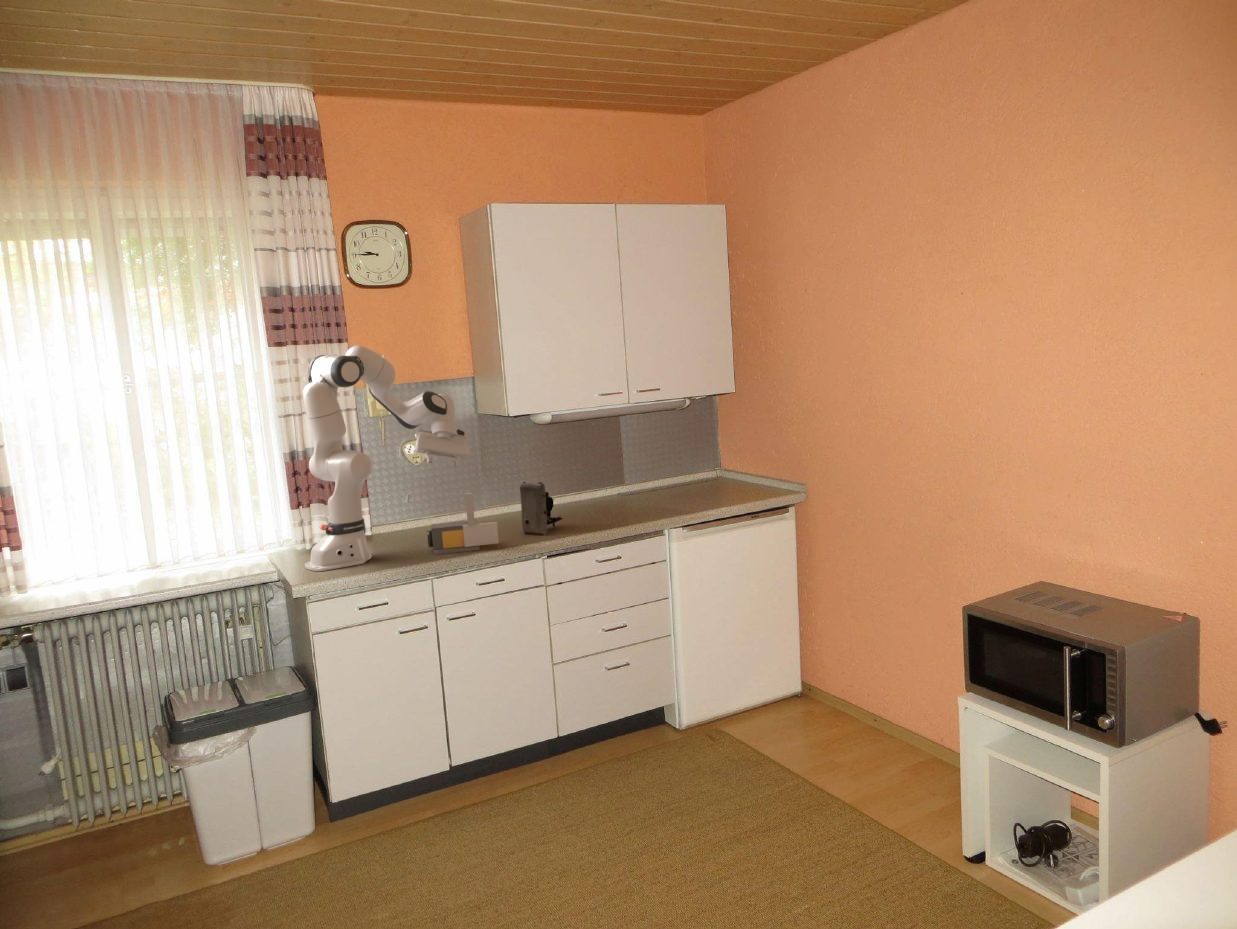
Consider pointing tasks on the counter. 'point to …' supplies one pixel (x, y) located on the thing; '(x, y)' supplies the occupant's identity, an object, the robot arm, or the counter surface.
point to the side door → (478, 528)
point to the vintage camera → (536, 508)
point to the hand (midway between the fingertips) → (442, 465)
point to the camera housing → (448, 538)
